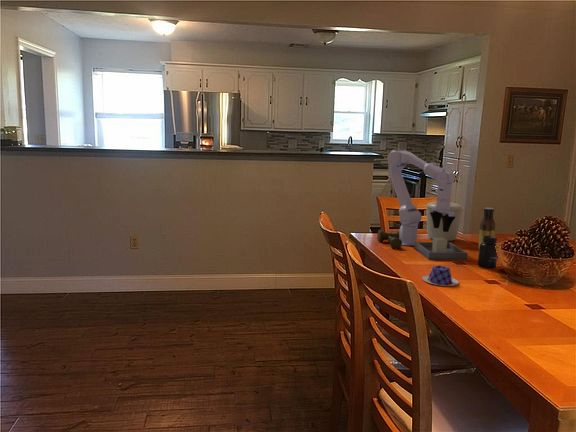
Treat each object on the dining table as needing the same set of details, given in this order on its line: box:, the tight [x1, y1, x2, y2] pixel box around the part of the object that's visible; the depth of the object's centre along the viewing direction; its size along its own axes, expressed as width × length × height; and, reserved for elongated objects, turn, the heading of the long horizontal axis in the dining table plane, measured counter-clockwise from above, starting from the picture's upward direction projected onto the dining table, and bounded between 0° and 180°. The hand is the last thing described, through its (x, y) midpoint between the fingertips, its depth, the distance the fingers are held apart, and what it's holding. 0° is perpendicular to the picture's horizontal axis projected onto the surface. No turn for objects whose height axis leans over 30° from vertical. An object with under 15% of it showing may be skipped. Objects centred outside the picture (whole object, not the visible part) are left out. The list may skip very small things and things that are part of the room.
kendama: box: [376, 229, 403, 249], centre depth 211 cm, size 6×10×20 cm
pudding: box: [422, 265, 459, 287], centre depth 158 cm, size 12×12×5 cm
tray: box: [414, 241, 468, 261], centre depth 195 cm, size 18×16×3 cm
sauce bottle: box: [477, 207, 496, 249], centre depth 198 cm, size 6×6×20 cm
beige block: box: [432, 237, 448, 252], centre depth 194 cm, size 4×4×6 cm
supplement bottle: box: [477, 236, 499, 270], centre depth 177 cm, size 7×7×12 cm
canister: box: [424, 201, 465, 242], centre depth 222 cm, size 18×18×21 cm
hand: (440, 229), depth 199 cm, fingers open, 7 cm apart
